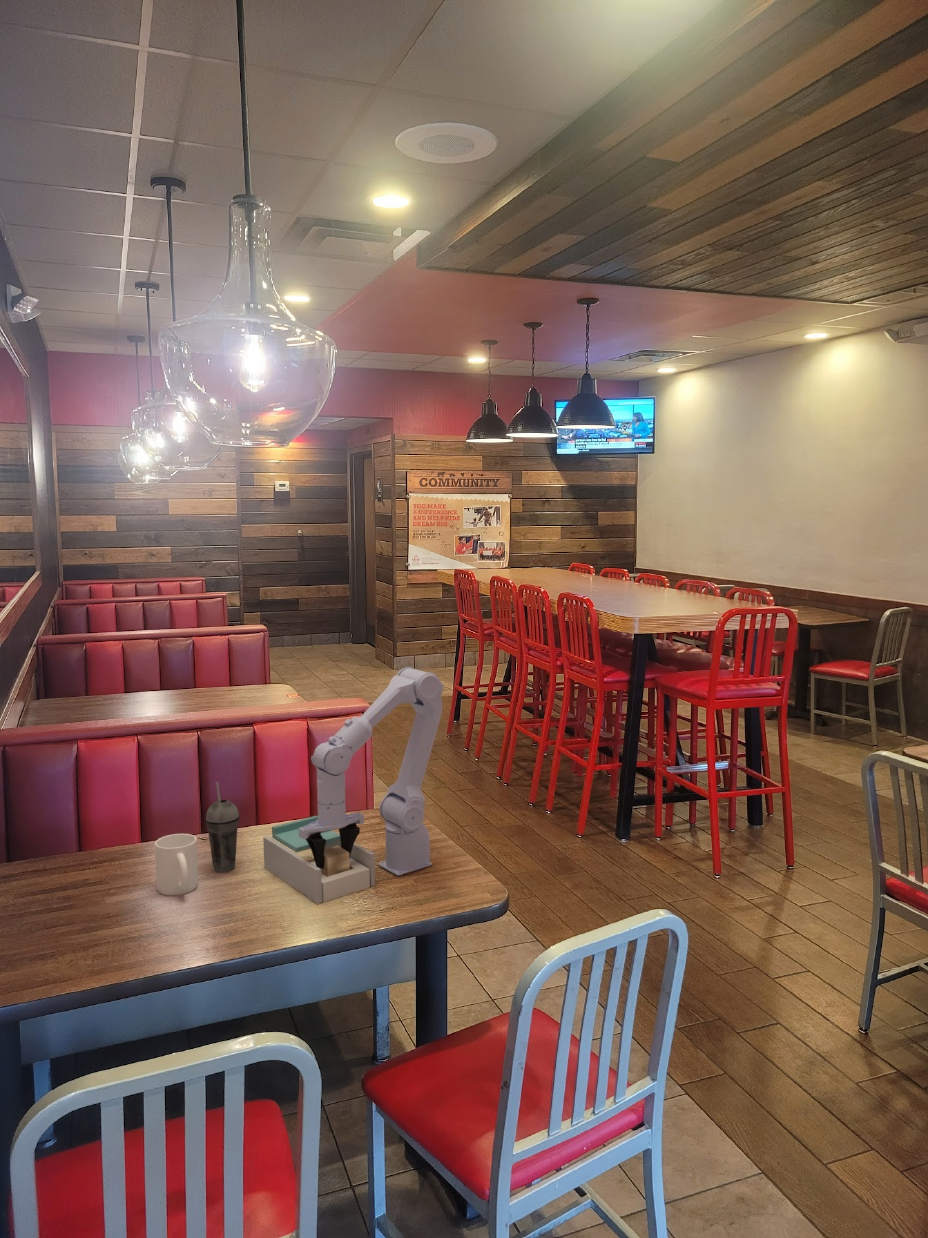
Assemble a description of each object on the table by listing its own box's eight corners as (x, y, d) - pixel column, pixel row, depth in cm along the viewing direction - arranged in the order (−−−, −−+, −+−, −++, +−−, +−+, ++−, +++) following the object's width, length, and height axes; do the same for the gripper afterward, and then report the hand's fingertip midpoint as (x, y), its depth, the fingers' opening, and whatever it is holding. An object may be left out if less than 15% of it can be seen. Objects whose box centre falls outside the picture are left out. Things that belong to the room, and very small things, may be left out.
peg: (338, 872, 185) (337, 845, 184) (349, 880, 181) (349, 852, 180) (317, 878, 182) (316, 851, 181) (328, 886, 178) (327, 858, 177)
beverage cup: (248, 866, 192) (245, 779, 189) (223, 878, 186) (219, 788, 183) (225, 860, 196) (222, 774, 193) (200, 871, 189) (196, 782, 187)
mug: (206, 898, 176) (204, 849, 175) (164, 907, 172) (162, 857, 171) (193, 877, 186) (191, 831, 185) (153, 885, 182) (151, 838, 181)
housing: (319, 852, 200) (318, 823, 199) (375, 885, 182) (374, 853, 181) (264, 867, 191) (263, 837, 190) (317, 904, 173) (316, 870, 172)
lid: (316, 826, 197) (316, 815, 197) (341, 840, 189) (341, 829, 188) (272, 837, 190) (271, 826, 190) (296, 852, 182) (296, 841, 181)
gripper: (351, 789, 187) (352, 849, 189) (290, 803, 178) (292, 866, 180) (369, 797, 182) (369, 859, 183) (307, 812, 173) (309, 877, 174)
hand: (332, 863), depth 181 cm, fingers open, 6 cm apart
